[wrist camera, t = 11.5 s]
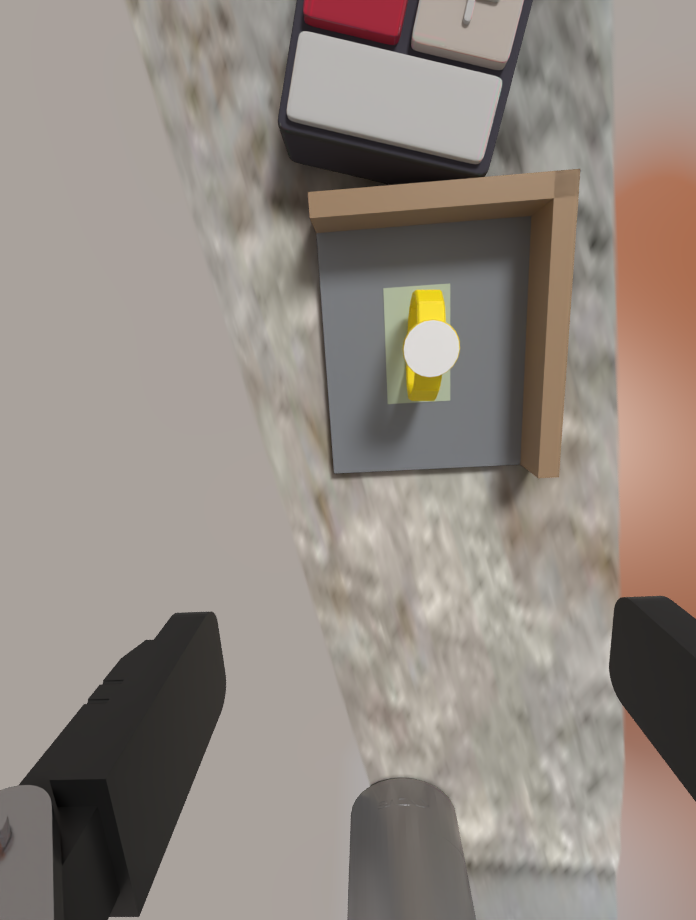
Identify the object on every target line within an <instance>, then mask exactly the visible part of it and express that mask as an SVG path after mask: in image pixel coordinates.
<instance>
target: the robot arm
mask: <svg viewBox="0 0 696 920" xmlns="http://www.w3.org/2000/svg"><path fill="white" fill-rule="evenodd" d="M609 672H610V678H611V682H612V685H613V688H614V691H615V693H616V695H617V697H618V699H619V700H620V702H621V703H622V705H623V706H624V707H625V709H626V710H627V711H628V713H629V714H630V715H631V717H632V718H633V719H634V721H635V722H636V723H637V725H638V726H639V727H640V728H641V730H642V731H643V732H644V734H645V735H646V736H647V738H648V739H649V740H650V742H651V743H652V744H653V746H654V747H655V748H656V749H657V751H658V752H659V754H660V755H661V756H662V758H663V759H664V760H665V762H666V763H667V764H668V765H669V767H670V768H671V770H672V771H673V772H674V774H675V775H676V776H677V777H678V779H679V780H680V781H681V783H682V784H683V785H684V787H685V788H686V789H687V791H688V792H689V793H690V795H691V796H692V797H693V799H694V800H695V801H696V619H695V618H694V617H692V616H691V615H690V614H689V613H687V612H686V611H685V610H684V609H682V608H681V607H680V606H678V605H677V604H676V603H674V602H673V601H672V600H670V599H669V598H667V597H664V596H647V597H622V598H620V599H618V600H617V602H616V604H615V608H614V617H613V628H612V639H611V650H610V661H609ZM225 692H226V675H225V668H224V661H223V655H222V648H221V642H220V635H219V628H218V622H217V618H216V616H215V614H214V613H213V612H188V613H175V614H174V615H172V616H171V618H170V619H169V620H168V622H167V623H166V624H165V625H164V627H163V628H162V630H161V631H160V632H159V634H158V635H157V636H156V638H155V639H154V640H145V641H144V642H143V643H141V644H140V645H139V646H137V647H136V648H134V649H133V650H132V651H130V652H129V653H128V654H127V655H125V656H124V657H123V658H121V659H120V661H119V662H118V663H117V664H116V666H115V667H114V668H113V669H112V670H111V672H110V673H109V674H108V675H107V676H106V678H105V679H104V680H103V685H99V686H98V688H97V689H96V690H95V691H94V693H93V694H92V695H91V696H90V698H89V699H88V703H87V704H84V705H83V706H82V707H81V709H80V710H79V711H78V712H77V714H76V715H75V716H74V717H73V719H72V720H71V721H70V722H69V724H68V725H67V726H66V727H65V729H64V730H63V731H62V732H61V733H60V735H59V736H58V737H57V738H56V740H55V741H54V742H53V743H52V745H51V746H50V747H49V748H48V750H47V751H46V752H45V753H44V754H43V756H42V757H41V758H40V759H39V761H38V762H37V763H36V764H35V766H34V767H33V768H32V769H31V770H30V772H29V773H28V774H27V776H26V777H25V778H24V779H23V780H22V782H21V783H20V784H19V785H18V786H14V787H9V788H6V789H3V790H0V920H108V918H109V917H139V916H140V913H141V911H142V908H143V906H144V903H145V901H146V898H147V896H148V893H149V891H150V888H151V886H152V883H153V881H154V878H155V876H156V873H157V871H158V868H159V866H160V863H161V861H162V858H163V856H164V853H165V851H166V848H167V846H168V843H169V841H170V838H171V836H172V833H173V831H174V828H175V826H176V823H177V821H178V818H179V816H180V813H181V811H182V809H183V806H184V804H185V801H186V799H187V796H188V794H189V791H190V788H191V786H192V784H193V781H194V779H195V776H196V773H197V771H198V768H199V766H200V764H201V761H202V758H203V756H204V754H205V751H206V748H207V746H208V744H209V741H210V738H211V736H212V734H213V731H214V729H215V726H216V723H217V721H218V718H219V716H220V714H221V711H222V708H223V704H224V699H225ZM350 834H351V835H350V863H349V889H348V920H476V916H475V911H474V906H473V901H472V895H471V890H470V885H469V880H468V875H467V869H466V863H465V858H464V853H463V848H462V843H461V837H460V832H459V827H458V822H457V817H456V812H455V809H454V806H453V804H452V802H451V801H450V799H449V798H448V797H447V796H446V795H445V793H444V792H443V791H441V790H440V789H438V788H437V787H435V786H433V785H431V784H429V783H427V782H424V781H420V780H416V779H409V778H396V779H389V780H385V781H381V782H378V783H376V784H374V785H372V786H370V787H369V788H367V789H366V790H365V791H363V792H362V793H361V794H360V795H359V797H358V798H357V799H356V801H355V803H354V805H353V807H352V812H351V831H350Z"/></svg>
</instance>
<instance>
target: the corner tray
mask: <svg viewBox="0 0 696 920" xmlns="http://www.w3.org/2000/svg"><path fill="white" fill-rule="evenodd" d="M579 180H580V169H573V170H561V171H549V172H538V173H526V174H514V175H503V176H491V177H479V178H468V179H456V180H444V181H433V182H421V183H409V184H398V185H386V186H374V187H363V188H351V189H339V190H328V191H316V192H308V201H309V214H310V220H311V222H312V224H313V227H314V229H315V231H316V236H317V249H318V263H319V276H320V290H321V303H322V317H323V330H324V344H325V357H326V371H327V384H328V398H329V411H330V425H331V438H332V452H333V465H334V473H353V472H373V471H394V470H415V469H436V468H457V467H477V466H498V465H519V464H520V465H522V466H523V467H524V468H526V469H527V470H528V471H530V472H531V473H532V474H534V475H535V476H536V477H537V478H550V477H559V468H560V454H561V439H562V425H563V410H564V396H565V381H566V367H567V353H568V338H569V324H570V309H571V295H572V281H573V266H574V252H575V237H576V223H577V208H578V194H579ZM415 290H441V291H442V294H443V298H444V302H445V314H446V323H448V324H450V325H451V326H452V328H453V329H454V330H455V331H456V333H457V335H458V337H459V341H460V352H459V356H458V359H457V361H456V362H455V364H454V366H453V367H452V368H451V369H450V370H449V371H447V372H446V373H444V374H442V380H441V386H440V390H439V392H438V395H437V398H436V399H435V400H434V401H411V400H409V399H408V394H407V386H406V362H405V360H404V357H403V350H402V347H403V342H404V339H405V337H406V335H407V331H408V316H409V307H410V301H411V296H412V293H413V292H414V291H415Z"/></svg>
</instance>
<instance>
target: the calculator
mask: <svg viewBox="0 0 696 920" xmlns="http://www.w3.org/2000/svg"><path fill="white" fill-rule="evenodd" d="M532 1H533V0H297V3H296V10H295V16H294V22H293V28H292V34H291V41H290V47H289V53H288V59H287V66H286V72H285V78H284V84H283V91H282V97H281V103H280V109H279V116H278V125H279V128H280V131H281V134H282V137H283V140H284V143H285V146H286V149H287V152H288V155H289V157H290V159H291V160H292V161H294V162H297V163H301V164H305V165H309V166H314V167H318V168H322V169H326V170H331V171H335V172H339V173H343V174H348V175H352V176H356V177H360V178H365V179H369V180H373V181H378V182H382V183H386V184H390V185H398V184H409V183H421V182H433V181H444V180H456V179H468V178H479V177H485V175H486V173H487V172H488V169H489V166H490V162H491V159H492V155H493V151H494V147H495V143H496V139H497V136H498V132H499V128H500V124H501V120H502V116H503V113H504V109H505V105H506V101H507V97H508V93H509V90H510V86H511V82H512V78H513V74H514V70H515V67H516V63H517V59H518V55H519V51H520V47H521V44H522V40H523V36H524V32H525V28H526V24H527V21H528V17H529V13H530V9H531V5H532Z"/></svg>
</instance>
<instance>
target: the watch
mask: <svg viewBox="0 0 696 920" xmlns="http://www.w3.org/2000/svg"><path fill="white" fill-rule="evenodd" d="M402 350H403V357H404V360H405V362H406V386H407V394H408V399H409V400H411V401H434V400H435V399H436V398H437V395H438V392H439V390H440V386H441V380H442V374H444V373H446V372H447V371H449V370H450V369H451V368H452V367H453V366H454V364H455V362H456V361H457V359H458V356H459V352H460V341H459V337H458V335H457V333H456V331H455V330H454V329H453V328H452V326H451V325H450V324H448V323H446V314H445V302H444V298H443V294H442V291H441V290H415V291H414V292H413V293H412V296H411V301H410V307H409V316H408V331H407V335H406V337H405V339H404V342H403V347H402Z"/></svg>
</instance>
